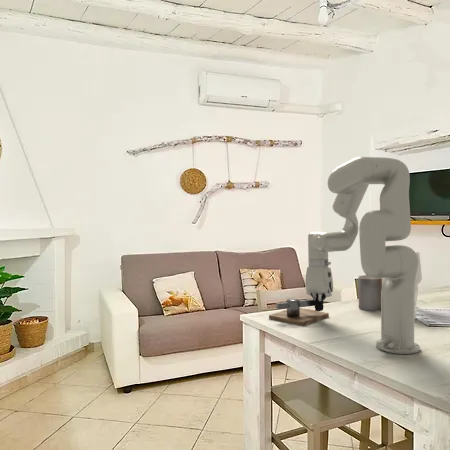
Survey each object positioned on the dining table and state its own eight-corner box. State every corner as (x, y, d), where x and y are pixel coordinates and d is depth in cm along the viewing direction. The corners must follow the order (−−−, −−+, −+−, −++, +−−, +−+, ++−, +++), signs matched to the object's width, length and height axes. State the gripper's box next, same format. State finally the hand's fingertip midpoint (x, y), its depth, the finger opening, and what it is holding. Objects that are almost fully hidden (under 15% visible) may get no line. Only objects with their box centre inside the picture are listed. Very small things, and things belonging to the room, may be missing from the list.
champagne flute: (401, 307, 191) (401, 252, 190) (413, 306, 193) (413, 251, 192) (412, 311, 184) (412, 253, 184) (425, 309, 187) (425, 252, 186)
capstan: (280, 318, 168) (280, 302, 168) (274, 315, 173) (274, 300, 172) (320, 313, 175) (320, 298, 174) (313, 311, 179) (313, 296, 179)
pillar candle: (374, 305, 196) (373, 271, 196) (387, 310, 187) (386, 274, 186) (354, 307, 194) (353, 273, 193) (366, 312, 184) (365, 276, 184)
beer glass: (419, 320, 170) (419, 281, 170) (400, 319, 172) (400, 280, 171) (415, 315, 177) (415, 278, 176) (397, 315, 178) (397, 277, 178)
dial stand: (303, 325, 164) (303, 321, 164) (269, 318, 175) (268, 314, 175) (329, 316, 177) (329, 312, 177) (295, 310, 188) (295, 307, 188)
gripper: (340, 263, 170) (341, 311, 171) (307, 261, 181) (308, 306, 181) (330, 265, 165) (330, 315, 165) (296, 263, 175) (297, 309, 176)
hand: (319, 310), depth 173 cm, fingers closed
